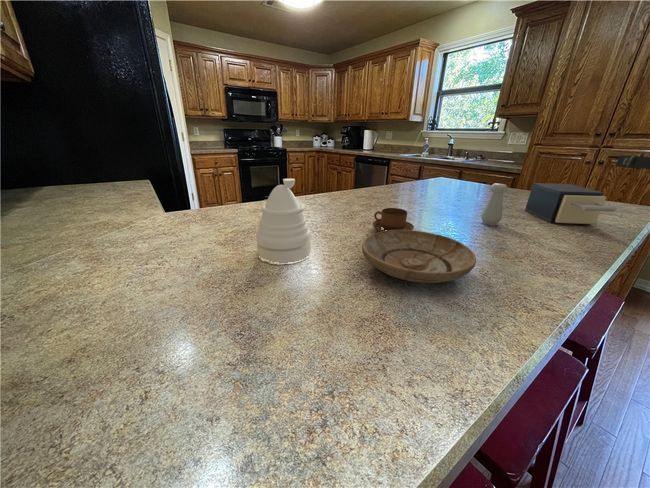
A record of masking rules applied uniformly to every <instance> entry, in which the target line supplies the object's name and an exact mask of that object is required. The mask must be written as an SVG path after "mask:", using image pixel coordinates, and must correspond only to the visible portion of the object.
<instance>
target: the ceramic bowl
mask: <svg viewBox="0 0 650 488" xmlns="http://www.w3.org/2000/svg"><path fill="white" fill-rule="evenodd" d="M361 252H362V255H363V256H364V257H365V259H366V260H367V262H368V263H369V264H370V265H372V266H373V267H374V268H376V269H377V270H378V271H381V272H382V273H384V274H386V275H388V276H390V277H393V278H396V279H399V280H404V281H408V282H410V283H411V282H412V283H421V284H438V283H440V284H441V283H444V282H450V281H454V280H457V279H460V278H462V277H464V276H465V275H468V274H469V273H470V272H471V271H472V270H473V269H474V268H475V266H476V262H477V257H476V254H475V252H473V250H472V249H471V248H470V247H468V246H466V245H465V244H464V243H463V242H460V241H458V240H455V239H453V238H450V237H448V236H445V235H441V234H437V233H433V232H427V231H423V230H422V231H421V230H414V229H413V230H388V231H382V232H380V231H378V232H375V233H372V234H370V235H368V236H366V238H365V239H363V241H362V243H361Z"/></svg>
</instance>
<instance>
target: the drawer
mask: <svg viewBox="0 0 650 488" xmlns="http://www.w3.org/2000/svg"><path fill="white" fill-rule="evenodd" d="M607 199H608V198H607V196H604V195H603V196H596V195H580V194H563V195H562V197H561V200H560V203H559V206H558V208H557V211H556V214H555V217H554V219H555V222H557V223H556V224H565V223H582V224H581V225H596V223H597V221H598V218H599V216H600V214H601V212H610V213H611V212H615V211H616V210H617V207H616V206H614V205H605V201H606V200H607Z"/></svg>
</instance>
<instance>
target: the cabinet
mask: <svg viewBox="0 0 650 488" xmlns="http://www.w3.org/2000/svg"><path fill="white" fill-rule="evenodd" d="M563 194H580V195H596V196H604V194H605V193H604V192H602V191H599V190H595V189H591V188H587V187H584V186H579V185H575V184H572V183H547V182H545V183H543V182H533V183H532V185H531V190H530V193H529V195H528V199H527V202H526V205H525V209H524V211H525V212H526V213H528V214H530V215H532V216H535V217H537V218H539V219H540V220H543V221H544V222H546V223H549V224H558V223H557V222H555V219H554V217H555V214H556V211H557V208H558V206H559V203H560V200H561V197H562V195H563ZM565 224H567V225H583V224H582V223H564V225H565Z"/></svg>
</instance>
